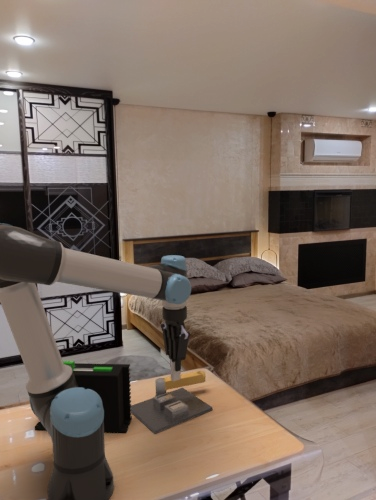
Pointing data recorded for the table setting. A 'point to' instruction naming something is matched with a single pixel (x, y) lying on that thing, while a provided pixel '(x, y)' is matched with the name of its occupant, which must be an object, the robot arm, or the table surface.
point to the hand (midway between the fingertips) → (175, 379)
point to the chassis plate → (161, 418)
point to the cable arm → (179, 381)
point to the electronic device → (106, 392)
